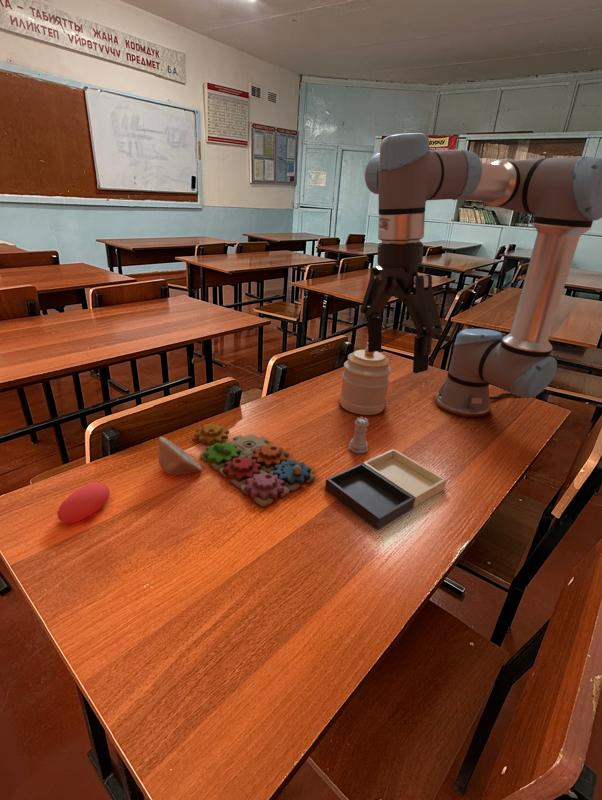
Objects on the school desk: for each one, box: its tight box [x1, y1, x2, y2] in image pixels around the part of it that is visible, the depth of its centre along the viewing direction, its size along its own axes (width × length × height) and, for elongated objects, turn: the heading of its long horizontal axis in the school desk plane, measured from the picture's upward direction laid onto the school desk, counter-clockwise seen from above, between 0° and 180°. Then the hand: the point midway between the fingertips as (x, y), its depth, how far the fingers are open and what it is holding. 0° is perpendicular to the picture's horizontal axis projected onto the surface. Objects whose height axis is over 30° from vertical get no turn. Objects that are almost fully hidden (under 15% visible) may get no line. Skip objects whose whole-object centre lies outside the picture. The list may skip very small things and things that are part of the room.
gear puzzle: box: [193, 423, 316, 508], centre depth 94 cm, size 31×16×4 cm, turn 45°
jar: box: [339, 346, 392, 416], centre depth 120 cm, size 13×13×18 cm
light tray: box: [362, 448, 447, 509], centre depth 92 cm, size 10×14×2 cm
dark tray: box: [324, 462, 415, 530], centre depth 85 cm, size 10×14×2 cm
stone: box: [158, 436, 203, 476], centre depth 88 cm, size 10×7×10 cm
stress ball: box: [56, 481, 111, 524], centre depth 76 cm, size 5×9×6 cm, turn 145°
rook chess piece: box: [348, 416, 370, 455], centre depth 101 cm, size 4×4×8 cm
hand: (395, 360), depth 82 cm, fingers open, 13 cm apart
